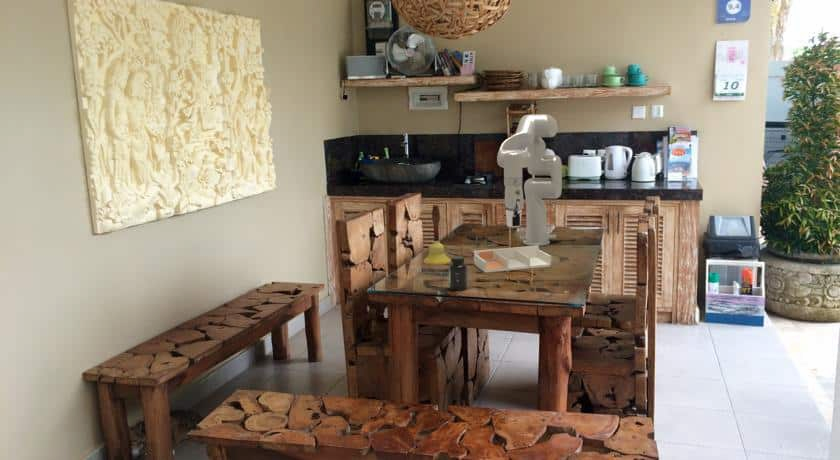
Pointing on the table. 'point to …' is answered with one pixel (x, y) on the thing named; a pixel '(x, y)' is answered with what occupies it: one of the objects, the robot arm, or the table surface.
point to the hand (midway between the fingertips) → (513, 224)
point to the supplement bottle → (458, 273)
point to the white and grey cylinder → (509, 217)
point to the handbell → (436, 242)
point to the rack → (511, 259)
